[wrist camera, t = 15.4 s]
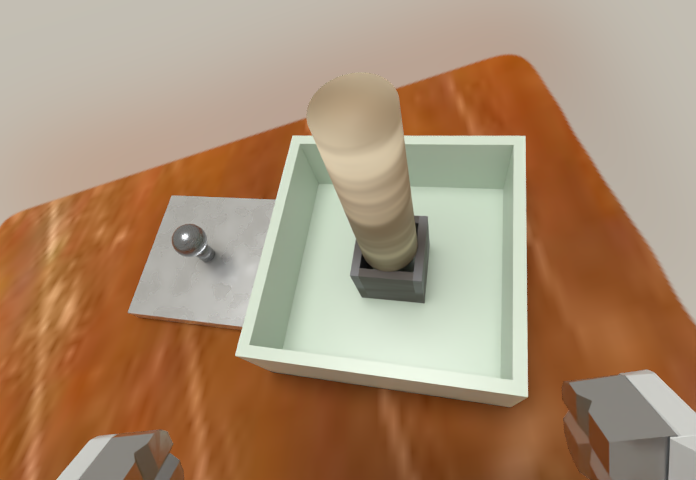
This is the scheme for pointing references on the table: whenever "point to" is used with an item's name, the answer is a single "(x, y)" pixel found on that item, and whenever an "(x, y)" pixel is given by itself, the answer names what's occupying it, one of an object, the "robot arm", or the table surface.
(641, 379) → the robot arm
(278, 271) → the bin
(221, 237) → the stud plate
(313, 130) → the strut
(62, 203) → the table surface
